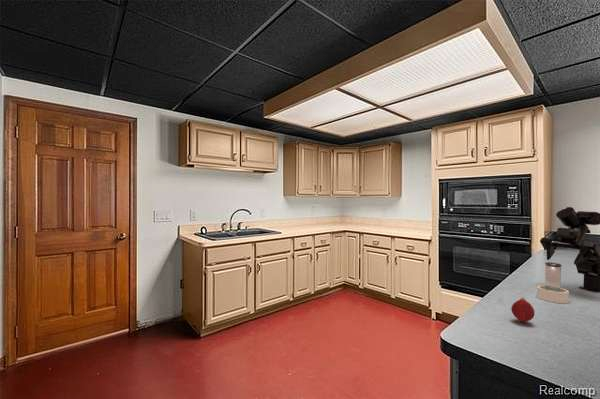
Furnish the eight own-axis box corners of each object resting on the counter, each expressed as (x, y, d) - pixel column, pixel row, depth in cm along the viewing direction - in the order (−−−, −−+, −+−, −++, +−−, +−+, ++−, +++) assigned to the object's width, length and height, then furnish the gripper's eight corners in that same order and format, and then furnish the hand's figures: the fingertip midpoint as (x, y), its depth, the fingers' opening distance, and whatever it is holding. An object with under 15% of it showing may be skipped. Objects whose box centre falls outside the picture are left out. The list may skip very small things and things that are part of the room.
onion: (539, 326, 90) (539, 300, 89) (520, 326, 90) (520, 300, 90) (524, 318, 95) (525, 294, 95) (507, 318, 95) (507, 294, 95)
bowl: (547, 294, 121) (547, 284, 121) (574, 301, 112) (574, 291, 112) (531, 296, 118) (531, 286, 118) (558, 304, 109) (558, 293, 109)
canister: (546, 293, 118) (547, 261, 118) (562, 296, 115) (562, 264, 114) (543, 295, 115) (543, 263, 115) (559, 299, 112) (559, 265, 111)
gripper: (542, 219, 132) (527, 245, 127) (598, 223, 115) (583, 252, 110) (551, 236, 135) (537, 261, 130) (607, 242, 118) (592, 271, 113)
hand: (560, 261), depth 121 cm, fingers open, 9 cm apart
